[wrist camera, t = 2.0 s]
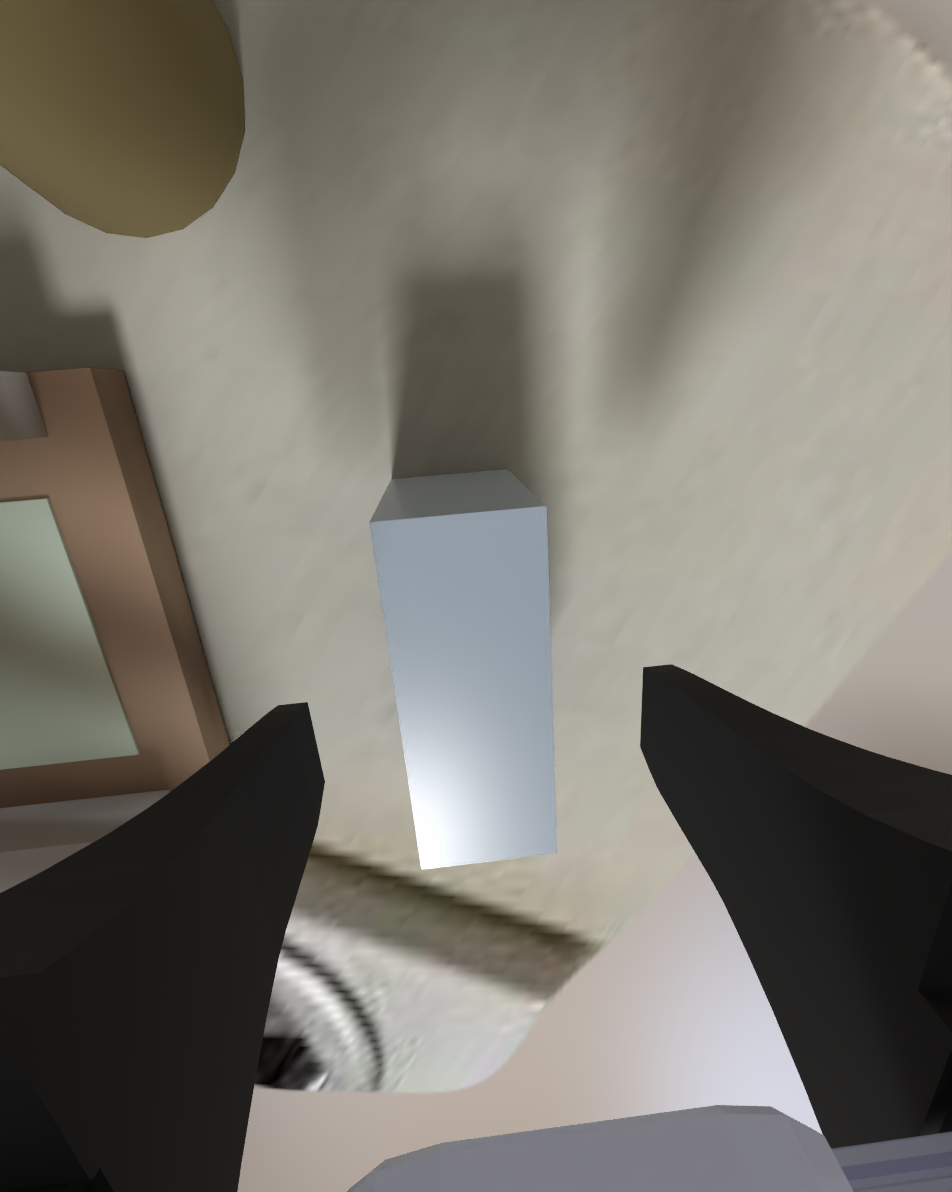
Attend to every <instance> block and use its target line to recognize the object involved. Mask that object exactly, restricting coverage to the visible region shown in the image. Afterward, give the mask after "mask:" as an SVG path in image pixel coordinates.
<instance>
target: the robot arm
mask: <svg viewBox="0 0 952 1192" xmlns="http://www.w3.org/2000/svg"><path fill="white" fill-rule="evenodd" d="M640 747H641V750H642V752H643V755H644V757H645V760H646V762H647V765H648V767H649V770H650V772H651V774H652V777H653V779H654V781H655V783H656V786H657V788H658V790H659V791H660V793H661V795H662V797H663V798H664V800H665V802H666V804H667V805H668V807H669V809H670V810H671V812H672V814H673V816H674V817H675V819H676V821H677V822H678V824H679V826H680V828H681V829H682V831H683V833H684V834H685V836H686V838H687V839H688V841H689V843H690V844H691V846H692V848H693V849H694V851H695V853H696V854H697V856H698V858H699V860H700V861H701V863H702V865H703V866H704V868H705V870H706V871H707V873H708V875H709V876H710V878H711V880H712V882H713V883H714V885H715V887H716V889H717V891H718V893H719V895H720V896H721V898H722V900H723V902H724V904H725V906H726V908H727V910H728V913H729V915H730V917H731V919H732V921H733V923H734V925H735V928H736V929H737V932H738V934H739V936H740V938H741V940H742V943H743V945H744V947H745V949H746V951H747V953H748V955H749V958H750V960H751V962H752V964H753V967H754V969H755V971H756V973H757V976H758V978H759V980H760V983H761V985H762V987H763V990H764V992H765V994H766V996H767V999H768V1001H769V1003H770V1005H771V1007H772V1010H773V1012H774V1015H775V1017H776V1019H777V1022H778V1024H779V1027H780V1029H781V1032H782V1034H783V1036H784V1039H785V1041H786V1044H787V1046H788V1048H789V1051H790V1053H791V1056H792V1058H793V1060H794V1063H795V1065H796V1068H797V1070H798V1072H799V1075H800V1077H801V1080H802V1082H803V1085H804V1087H805V1090H806V1092H807V1095H808V1097H809V1100H810V1103H811V1105H812V1107H813V1110H814V1113H815V1115H816V1118H817V1120H818V1123H819V1126H820V1128H821V1131H822V1133H823V1135H822V1134H820V1133H818V1132H817V1131H815V1130H813V1129H811V1128H809V1127H808V1126H806V1125H804V1124H802V1123H800V1122H798V1121H797V1120H794V1119H793V1118H791V1117H789V1116H787V1115H785V1114H783V1113H782V1112H780V1111H778V1110H776V1109H774V1108H772V1107H766V1106H726V1105H715V1106H708V1107H701V1108H693V1109H686V1110H679V1111H672V1112H664V1113H657V1114H650V1115H642V1116H636V1117H628V1118H621V1119H614V1120H606V1121H599V1122H591V1123H584V1124H577V1125H570V1126H563V1127H555V1128H548V1129H541V1130H534V1131H526V1132H519V1133H511V1134H504V1135H497V1136H490V1137H483V1138H475V1139H468V1140H461V1141H453V1142H446V1143H441V1144H437V1145H434V1146H430V1147H427V1148H423V1149H420V1150H417V1151H413V1152H410V1153H407V1154H403V1155H400V1156H397V1157H393V1158H390V1159H387V1160H385V1161H384V1162H383V1163H381V1164H380V1165H378V1166H377V1167H376V1168H375V1169H373V1170H372V1171H371V1172H370V1173H369V1174H367V1175H366V1176H365V1177H364V1178H362V1179H361V1180H360V1181H359V1182H357V1183H356V1184H355V1185H354V1186H353V1187H351V1188H350V1189H349V1190H348V1191H347V1192H952V775H950V774H946V773H942V772H938V771H934V770H931V769H927V768H924V767H920V766H917V765H914V764H910V763H906V762H903V761H900V760H896V759H893V758H889V757H886V756H883V755H880V754H877V753H874V752H871V751H868V750H864V749H862V748H859V747H856V746H853V745H850V744H848V743H845V742H842V741H840V740H837V739H834V738H831V737H828V736H826V735H823V734H821V733H818V732H815V731H813V730H810V729H808V728H806V727H803V726H801V725H799V724H796V723H794V722H792V721H789V720H787V719H785V718H783V717H780V716H778V715H776V714H773V713H771V712H769V711H767V710H765V709H763V708H761V707H758V706H756V705H754V704H752V703H750V702H748V701H746V700H744V699H742V698H740V697H738V696H736V695H734V694H732V693H730V692H728V691H726V690H724V689H722V688H720V687H718V686H716V685H714V684H712V683H710V682H708V681H706V680H704V679H702V678H700V677H698V676H696V675H694V674H692V673H690V672H688V671H686V670H683V669H681V668H679V667H676V666H674V665H662V666H652V667H643V689H642V715H641V741H640ZM324 783H325V780H324V776H323V771H322V767H321V762H320V758H319V753H318V748H317V744H316V739H315V735H314V730H313V725H312V721H311V716H310V712H309V707H308V703H307V702H306V703H296V704H287V705H278V706H277V707H275V708H274V709H273V710H271V711H270V712H269V713H267V714H266V715H265V716H264V717H262V718H261V719H260V720H259V721H258V722H256V723H255V724H254V725H253V726H252V727H250V728H249V729H248V730H247V731H246V732H245V733H243V734H242V735H241V736H240V737H239V738H237V739H236V740H235V741H234V742H233V743H231V744H230V745H229V746H228V747H227V748H225V749H224V750H223V751H222V752H221V753H219V754H218V755H217V756H216V757H215V758H213V759H212V760H211V761H210V762H209V763H207V764H206V765H205V766H203V767H202V768H201V769H199V770H198V771H197V772H195V773H194V774H193V775H192V776H190V777H189V778H188V779H186V780H185V781H184V782H182V783H181V784H180V785H179V786H177V787H176V788H175V789H173V790H172V791H171V792H169V793H168V794H167V795H165V796H164V797H163V798H161V799H160V800H158V801H157V802H156V803H154V804H153V805H151V806H150V807H148V808H147V809H145V810H144V811H142V812H141V813H139V814H138V815H136V816H135V817H133V818H132V819H130V820H129V821H127V822H126V823H124V824H122V825H121V826H119V827H118V828H116V829H115V830H113V831H112V832H110V833H108V834H107V835H105V836H103V837H102V838H100V839H98V840H96V841H95V842H93V843H91V844H89V845H88V846H86V847H84V848H82V849H81V850H79V851H77V852H75V853H74V854H72V855H70V856H68V857H67V858H65V859H63V860H62V861H60V862H58V863H56V864H55V865H53V866H51V867H49V868H48V869H46V870H44V871H42V872H40V873H38V874H36V875H35V876H33V877H31V878H29V879H27V880H25V881H23V882H21V883H19V884H17V885H15V886H13V887H11V888H9V889H7V890H5V891H3V892H1V893H0V1192H237V1190H238V1183H239V1176H240V1169H241V1162H242V1155H243V1149H244V1144H245V1137H246V1131H247V1125H248V1118H249V1112H250V1107H251V1100H252V1095H253V1089H254V1083H255V1077H256V1072H257V1066H258V1061H259V1055H260V1050H261V1044H262V1039H263V1033H264V1028H265V1023H266V1017H267V1012H268V1007H269V1002H270V997H271V992H272V987H273V983H274V978H275V973H276V968H277V963H278V958H279V954H280V950H281V946H282V943H283V939H284V935H285V931H286V928H287V925H288V921H289V918H290V915H291V912H292V908H293V905H294V902H295V899H296V895H297V892H298V889H299V886H300V882H301V879H302V876H303V873H304V870H305V866H306V863H307V860H308V856H309V853H310V850H311V846H312V843H313V840H314V836H315V833H316V829H317V826H318V820H319V815H320V809H321V803H322V796H323V790H324Z"/></svg>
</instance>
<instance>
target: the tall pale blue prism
mask: <svg viewBox="0 0 952 1192" xmlns="http://www.w3.org/2000/svg"><path fill="white" fill-rule="evenodd" d="M369 523H370V530H371V536H372V543H373V550H374V557H375V563H376V570H377V577H378V583H379V590H380V597H381V603H382V610H383V617H384V623H385V630H386V637H387V643H388V650H389V657H390V663H391V670H392V677H393V683H394V690H395V697H396V703H397V710H398V717H399V723H400V730H401V737H402V743H403V750H404V757H405V763H406V770H407V777H408V783H409V790H410V797H411V804H412V810H413V817H414V824H415V830H416V837H417V844H418V850H419V857H420V864H421V870H423V869H431V868H440V867H448V866H456V865H465V864H473V863H481V862H490V861H498V860H506V859H515V858H523V857H531V856H540V855H548V854H556V853H557V825H556V792H555V760H554V728H553V696H552V664H551V632H550V600H549V568H548V536H547V506H546V505H545V504H544V503H543V502H542V501H541V500H540V499H539V498H538V497H537V496H536V495H535V494H534V493H532V492H531V491H530V490H529V489H528V488H527V487H526V486H525V485H524V484H523V483H522V482H521V481H520V480H519V479H518V478H517V477H516V476H515V475H514V474H513V473H512V472H511V471H509V470H508V469H501V470H490V471H479V472H467V473H456V474H445V475H434V476H423V477H411V478H400V479H391V481H390V483H389V485H388V487H387V489H386V491H385V493H384V495H383V497H382V499H381V501H380V503H379V505H378V507H377V508H376V510H375V512H374V514H373V516H372V518H371V520H370V522H369Z"/></svg>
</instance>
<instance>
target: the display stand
mask: <svg viewBox="0 0 952 1192" xmlns="http://www.w3.org/2000/svg"><path fill="white" fill-rule="evenodd" d="M229 745H230V744H229V740H228V737H227V733H226V730H225V726H224V723H223V719H222V716H221V712H220V709H219V705H218V702H217V698H216V694H215V691H214V687H213V684H212V680H211V677H210V673H209V670H208V666H207V663H206V659H205V656H204V652H203V649H202V645H201V642H200V638H199V635H198V631H197V628H196V624H195V621H194V617H193V614H192V610H191V607H190V603H189V600H188V596H187V593H186V589H185V586H184V582H183V579H182V575H181V572H180V568H179V565H178V561H177V558H176V554H175V551H174V547H173V544H172V540H171V537H170V533H169V530H168V526H167V522H166V519H165V515H164V512H163V508H162V505H161V501H160V498H159V494H158V491H157V487H156V484H155V480H154V477H153V473H152V470H151V466H150V463H149V459H148V456H147V452H146V449H145V445H144V442H143V438H142V435H141V431H140V428H139V424H138V421H137V417H136V414H135V410H134V407H133V403H132V400H131V396H130V393H129V389H128V386H127V382H126V379H125V375H124V372H123V370H112V369H100V368H78V369H65V370H52V371H39V372H10V371H0V893H1V892H3V891H5V890H7V889H9V888H11V887H13V886H15V885H17V884H19V883H21V882H23V881H25V880H27V879H29V878H31V877H33V876H35V875H36V874H38V873H40V872H42V871H44V870H46V869H48V868H49V867H51V866H53V865H55V864H56V863H58V862H60V861H62V860H63V859H65V858H67V857H68V856H70V855H72V854H74V853H75V852H77V851H79V850H81V849H82V848H84V847H86V846H88V845H89V844H91V843H93V842H95V841H96V840H98V839H100V838H102V837H103V836H105V835H107V834H108V833H110V832H112V831H113V830H115V829H116V828H118V827H119V826H121V825H122V824H124V823H126V822H127V821H129V820H130V819H132V818H133V817H135V816H136V815H138V814H139V813H141V812H142V811H144V810H145V809H147V808H148V807H150V806H151V805H153V804H154V803H156V802H157V801H158V800H160V799H161V798H163V797H164V796H165V795H167V794H168V793H169V792H171V791H172V790H173V789H175V788H176V787H177V786H179V785H180V784H181V783H182V782H184V781H185V780H186V779H188V778H189V777H190V776H192V775H193V774H194V773H195V772H197V771H198V770H199V769H201V768H202V767H203V766H205V765H206V764H207V763H209V762H210V761H211V760H212V759H213V758H215V757H216V756H217V755H218V754H219V753H221V752H222V751H223V750H224V749H225V748H227V747H228V746H229Z"/></svg>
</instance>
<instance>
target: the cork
mask: <svg viewBox="0 0 952 1192" xmlns="http://www.w3.org/2000/svg"><path fill="white" fill-rule="evenodd" d="M244 132H245V119H244V95H243V79H242V76H241V72H240V69H239V66H238V62H237V59H236V56H235V52H234V49H233V45H232V42H231V39H230V35H229V32H228V29H227V27H226V25H225V23H224V22H223V20H222V18H221V16H220V15H219V13H218V11H217V10H216V8H215V6H214V4H213V3H212V1H211V0H0V165H1V166H2V167H4V168H5V169H6V170H8V171H9V172H10V173H12V174H13V175H14V176H16V177H17V178H18V179H20V180H21V181H22V182H24V183H25V184H26V185H28V186H29V187H30V188H32V189H33V190H34V191H36V192H37V193H38V194H40V195H41V196H42V197H44V198H45V199H46V200H48V201H49V202H50V203H52V204H53V205H54V206H56V207H57V208H58V209H60V210H61V211H62V212H64V213H65V214H67V215H69V216H71V217H73V218H75V219H77V220H80V221H82V222H84V223H86V224H88V225H90V226H93V227H95V228H97V229H99V230H101V231H103V232H106V233H112V234H120V235H128V236H136V237H144V238H148V237H152V236H156V235H160V234H164V233H169V232H173V231H177V230H181V229H184V228H185V227H186V226H188V225H189V224H191V223H192V222H193V221H195V220H196V219H197V218H199V217H200V216H202V215H203V214H204V213H206V212H207V211H208V210H210V209H211V208H213V206H214V205H215V203H216V202H217V200H218V199H219V197H220V195H221V194H222V192H223V191H224V189H225V188H226V186H227V184H228V183H229V181H230V180H231V178H232V176H233V175H234V173H235V169H236V165H237V161H238V157H239V153H240V148H241V144H242V140H243V136H244Z"/></svg>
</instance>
